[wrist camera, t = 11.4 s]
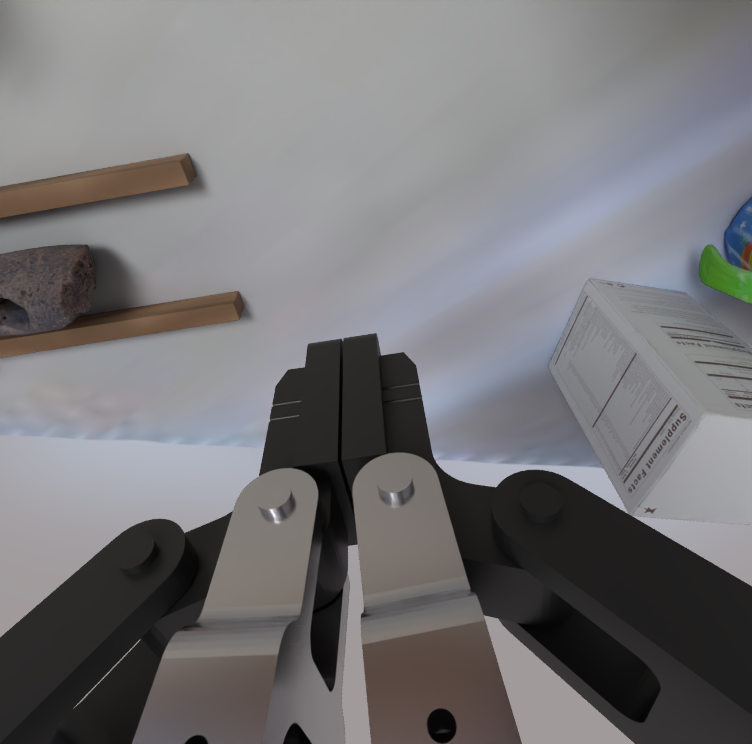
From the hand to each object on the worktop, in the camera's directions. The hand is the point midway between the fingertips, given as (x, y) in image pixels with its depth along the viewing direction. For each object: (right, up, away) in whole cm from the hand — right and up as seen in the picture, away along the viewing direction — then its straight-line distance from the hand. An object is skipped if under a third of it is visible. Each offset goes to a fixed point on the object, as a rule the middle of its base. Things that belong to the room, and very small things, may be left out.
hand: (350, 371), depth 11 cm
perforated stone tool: (-27, +8, +27) cm, 39 cm away
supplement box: (+22, +4, +33) cm, 39 cm away
